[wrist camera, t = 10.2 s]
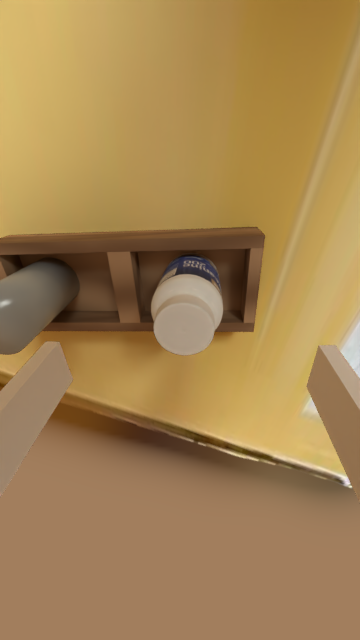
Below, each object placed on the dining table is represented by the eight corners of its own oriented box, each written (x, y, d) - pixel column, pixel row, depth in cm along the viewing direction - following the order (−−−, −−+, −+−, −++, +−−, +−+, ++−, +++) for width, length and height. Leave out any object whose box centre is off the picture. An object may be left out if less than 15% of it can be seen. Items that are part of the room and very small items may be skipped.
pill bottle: (231, 275, 24) (244, 328, 16) (194, 313, 26) (189, 376, 18) (187, 239, 23) (176, 274, 14) (153, 281, 25) (126, 333, 17)
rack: (9, 235, 25) (-18, 243, 22) (256, 226, 23) (264, 235, 20) (39, 314, 29) (20, 330, 26) (248, 314, 27) (253, 331, 24)
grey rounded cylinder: (24, 257, 25) (-57, 296, 17) (72, 256, 24) (11, 295, 17) (40, 303, 27) (-24, 354, 20) (84, 302, 27) (36, 354, 19)
